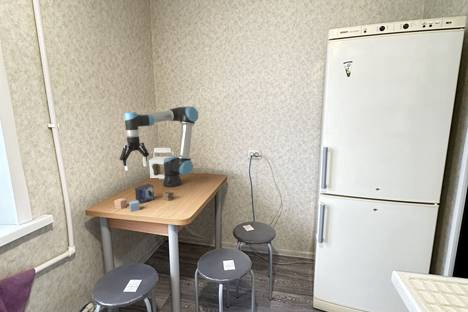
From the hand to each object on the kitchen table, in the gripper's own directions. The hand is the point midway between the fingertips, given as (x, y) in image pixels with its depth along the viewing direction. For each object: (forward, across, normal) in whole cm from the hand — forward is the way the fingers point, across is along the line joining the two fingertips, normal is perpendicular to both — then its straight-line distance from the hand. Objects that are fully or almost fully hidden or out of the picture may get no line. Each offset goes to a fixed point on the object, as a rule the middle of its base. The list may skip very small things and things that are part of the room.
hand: (136, 168), depth 163 cm
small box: (+24, -3, +2) cm, 24 cm away
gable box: (+24, -53, -38) cm, 70 cm away
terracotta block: (+23, +13, -1) cm, 26 cm away
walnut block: (+24, -13, +14) cm, 30 cm away
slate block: (+23, +11, +10) cm, 27 cm away
